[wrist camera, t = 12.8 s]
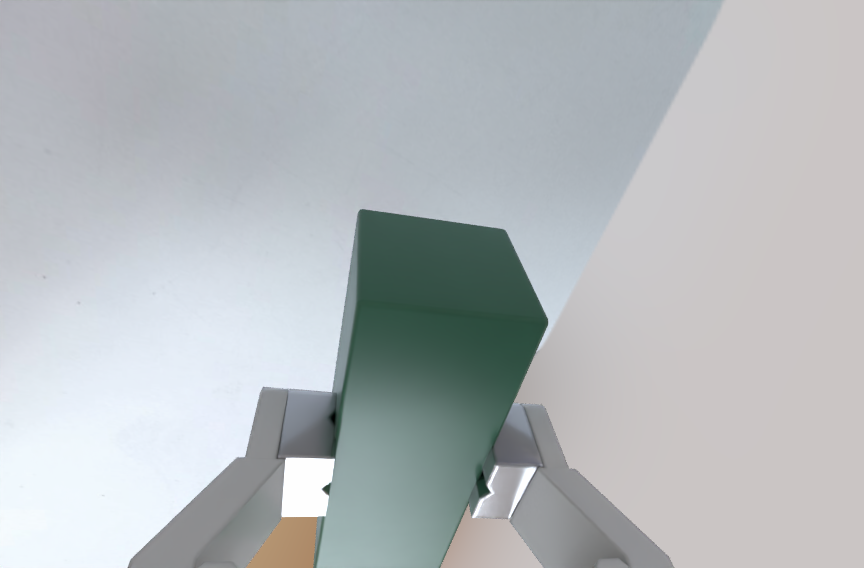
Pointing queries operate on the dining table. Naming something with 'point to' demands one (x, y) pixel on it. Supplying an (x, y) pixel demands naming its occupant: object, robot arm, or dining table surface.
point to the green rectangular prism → (421, 384)
